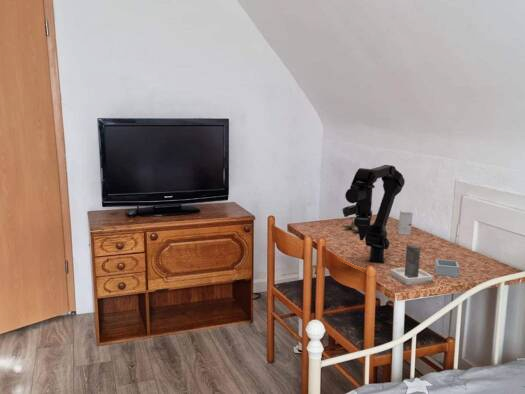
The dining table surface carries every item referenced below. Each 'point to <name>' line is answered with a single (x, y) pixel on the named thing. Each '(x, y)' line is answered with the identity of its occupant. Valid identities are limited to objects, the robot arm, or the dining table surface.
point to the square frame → (447, 268)
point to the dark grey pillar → (412, 261)
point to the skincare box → (405, 222)
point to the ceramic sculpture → (352, 226)
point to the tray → (421, 278)
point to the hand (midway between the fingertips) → (362, 237)
